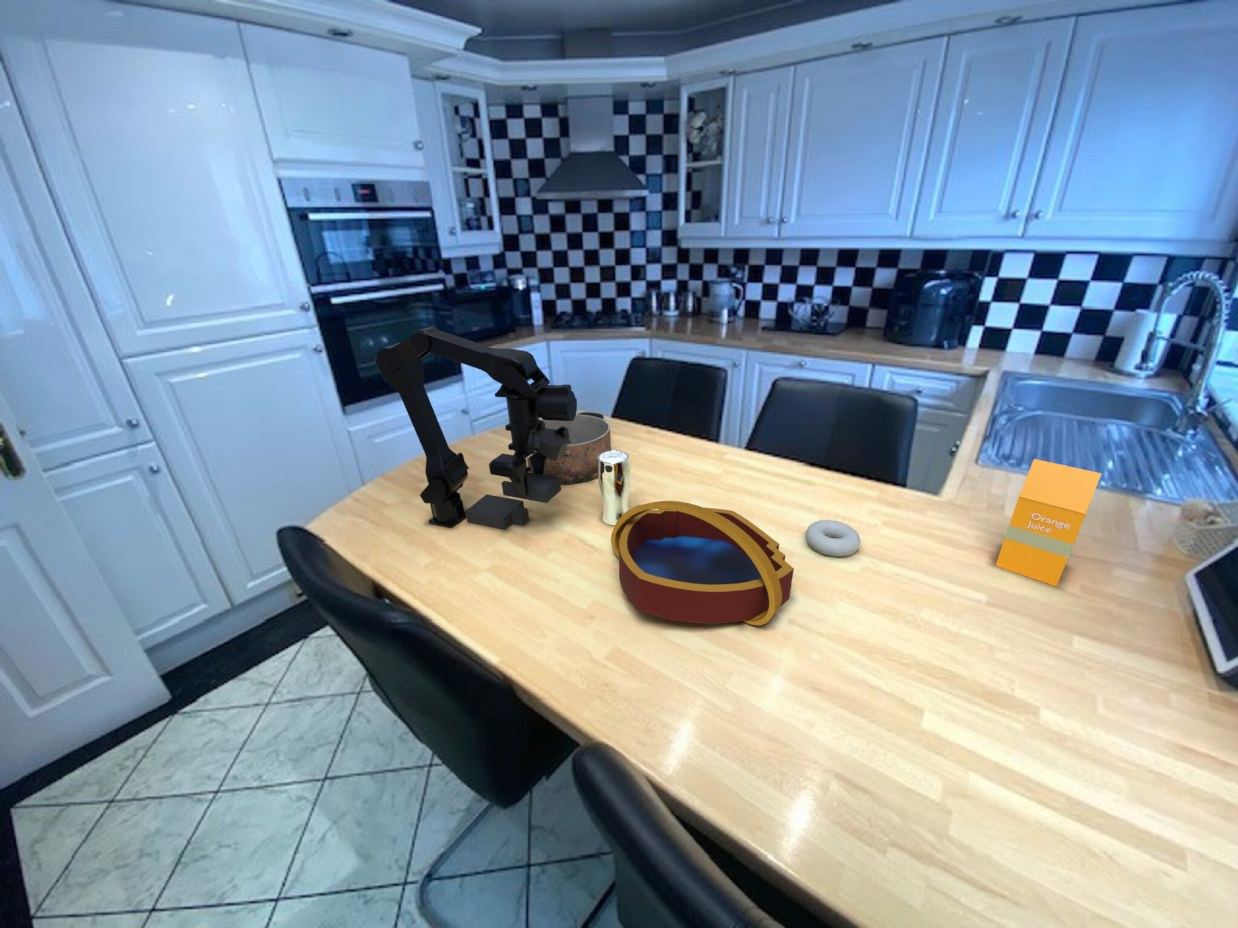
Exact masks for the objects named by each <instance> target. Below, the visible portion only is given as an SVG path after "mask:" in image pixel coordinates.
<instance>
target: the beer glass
mask: <svg viewBox="0 0 1238 928" xmlns="http://www.w3.org/2000/svg"><path fill="white" fill-rule="evenodd" d="M631 477H632V476H631V461H630V455H629V453H628V452H626V451H624V450H619V449H618V450H617V449H613V450H612V449H611V451H605V452H603V453H601V454H599V455H598V478H597V482H598V486H599V491H600V495H601V498H602V503H603V504H602V505H603V511H602V521H603V523H605V524H607V525H609V526H615V525H616V523H617V521H618V520H619V519H620V517H621V516H622V515H623V514H624V513H625V512H627V511H628V510H630V508H629V494H630V488H631V481H632V478H631Z"/></svg>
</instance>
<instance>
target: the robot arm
mask: <svg viewBox="0 0 1238 928" xmlns="http://www.w3.org/2000/svg"><path fill="white" fill-rule="evenodd" d="M429 354H433V355H436V356H439V357H442V358H445V359H447V360H451V361H454V362H456V363H460V364H463V365H466V366H468V367H471V368H474V369H477V370H480V371H482V372H484V373H486V375H488V376H489V377H490V379H492V381H495V382H496V383H498V384H501V385H500V387H499V389H498V390H497V391H496V392H495V393H494V397H495V398H505V400H506V407H507V415H508V423H507V424H505V426H504V427H505V431H507V432H508V431H509V432H510V437H511V442H509V444H507V448H508V450H509V451H514V453H513V454H508V453H501V454H499V455H498V456H496V457H495V458H493V459H492V460H491V461H489V463H488V469H489V474H490V475H492V476H497V477H503V478H508V479H509V480H510V482H513V484H514V485H515V487H516V488H517V489H518V491H519V492H520V493H521V495H523V496H527V490H528V487H527V473H528V472H530V470H531V469H532V468H533V471H534V473H536V474H542V475H545V470H546V465H547V461H548V458H549V459H550V460H553V461H556V460H558V459H559V458H560V457H561V456H562V455H564V454H565V451H566V447H567V445H568V444H570V442H571V441H570V440H569V439H570V437H569V431H568V428H566V427H564V426H561V427H560V428H558V429H557V430H556V429H548V428H546V427H545V423H544V422H543V420H555V421H573V420H574V418H575V416H576V415H577V410H578V400H577V397H576V394H575V392H574V391H573V390H572V385H571V384H551V381H550V379H549V378H548V377H547V375H546V374H545V373H544V372H543V370H542V369H541V368H540V367H539V366H538V364H537V360H536V359H535V357H534V355H533V354H532V353H530V352H529V351H526V350H523V349H522V350H521V349H515V348H497V347H491V346H488V345H484V344H482V343H479V342H477V341H476V342H475V341H472V340H470V339H467V338H463V337H460V336H458V335H454V334H452V333H449V332H446V331H443V330H440V329H439V328H437V327H435V326H428V327H426V328H422V329H419V330H417V331H416V332H414V334H412V335H410V336H409V337H407V338H406V339H404V340H402V341H400V342H397V343H395V344H392V345H389V346H386V347H383V348H380V349H379V350H378V351H377V353H376V356H375V358H374V362H375V365H376V368H377V370H378V371H379V373H380V375H381V376H382V378H383V380H384V381H385V383H387V384H388V385H389V386H390V387H391V388H393V389H394V390H395V391H396V392H397V393H398V395H399V397H400V399H401V401H402V403H403V406H404V408H405V411H406V413H407V415H408V418H409V420H410V422H411V425H412V427H413V429H414V431H415V434H416V436H417V438H418V440H419V443H420V445H421V448H422V450H423V453H424V455H425V471H424V472H425V473H424V474H425V477H426V480H427V485H426V486H425V488H424V489H423V490H422V491H421V493H420V494H419V497H420V498H421V500H422V502H423V503H424V504H429V505H430V510H431V515H432V517H431V518H430V519H429V520H428V524H430V525H436V526H441V527H446V528H449V529H450V528H453V527H455V526H456V525H457V524H458V523H460V522H461V521H463V520H464V519H465V518H466V513H465V511H466V510H465V506H464V502H463V500H462V496H461V493H460V492H458V491H459V490H460V489H461V488H463V487H464V482H466V480H467V478H468V476H469V471H468V470H469V469H470V467H469V465H467V463H466V459H465V456H464V454H463V452H457V453H456V452H455V451H453V450H452V449H451V448H450V446H449V445H448V442H447V439H446V437H445V434H444V432H443V430H442V427H441V424H440V422H439V419H438V417H437V414H436V412H435V410H434V407H433V404H432V402H431V400H430V397H429V396H428V393H427V390H426V388H425V385H424V378H425V366H424V365H425V364H424V362H423V358H424V357H427V356H428V355H429ZM529 381H532V382H531V383H529ZM527 458H529V459H530V462H531V465H532V468H530V467H528V460H527Z"/></svg>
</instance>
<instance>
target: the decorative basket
mask: <svg viewBox="0 0 1238 928" xmlns="http://www.w3.org/2000/svg"><path fill="white" fill-rule="evenodd" d="M610 543H611V547H612V550H613V552H614V554H615V556H616V557H617V558H618V576H619V583H620V586H621V588H622V590H623V593H624V594H625V596H626V598H628V600H629V602H630V603H631V604H632V605H633V606H634V607H635V608H636V609H637V610H638V611H639V612H640V611H641V612H644V613H647V614H649V615H652V616H656V617H659V618H664V619H668V620H673V621H679V622H686V623H693V624H727V623H736V622H744V623H746V624H749V625H751V626H752V625H753V626H762V625H766V624H768V623H769V622H770V621H771V619H772V618H773V617H774V616H775V615H776V613H777V612H778V611H779V609H780V607H781V606H782V605H784V604H785V603H786V602H787V601H788V600H789V599H790V596H791V590H792V583H793V577H794V571H795V568H794V567H793V566H792V565H791V564H789V563H788V562H787V561H786V554H785V553H784V552H782V551H780V543H779V542H778V541H776V540H775V539H774V538H773V537H772V536H770V535H769V534H767V533H766V532H765V531H764V530H762V529H761V528H759V527H758V526H757V525H756V524H754V523H753V522H751V521H750V520H748V519H747V518H746V517H744V516H743V515H741V514H739V513H738V512H736V511H734V510H731V509H725V508H724V509H723V508H716V507H715V508H714V507H705V506H701V505H697V504H693V503H690V502H684V501H680V500H679V501H678V500H677V501H676V500H659V501H652V502H648V503H643V504H639V505H636V506H634V507H632V508H629V510H628V511H627V512H625V513H624V514H623V515H622V516H621V517H620V519H619V520H618V521H617V523H616V525H614V527H613V529H612V531H611V537H610Z"/></svg>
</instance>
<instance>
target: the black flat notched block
mask: <svg viewBox="0 0 1238 928" xmlns="http://www.w3.org/2000/svg"><path fill="white" fill-rule="evenodd" d="M527 487H528V490H527V496H523V495H521V493H520V492H519V491H518V489H517V488H516V487H515V485H514V484H513V482H512V481H509V480H502V482H501V490H502V495H503V496H504V497H509V498H514V499H520V500H527V501H533V502H537V503H543V504H548V503H549V502H550V501H552V499H553V498H555V497H556V496H557V495H558V494H559V493H560V492H561V491H562V484H561V482H560V477H554V476H548V475H542V474H536V473H530V471H529V472H528V473H527Z"/></svg>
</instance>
